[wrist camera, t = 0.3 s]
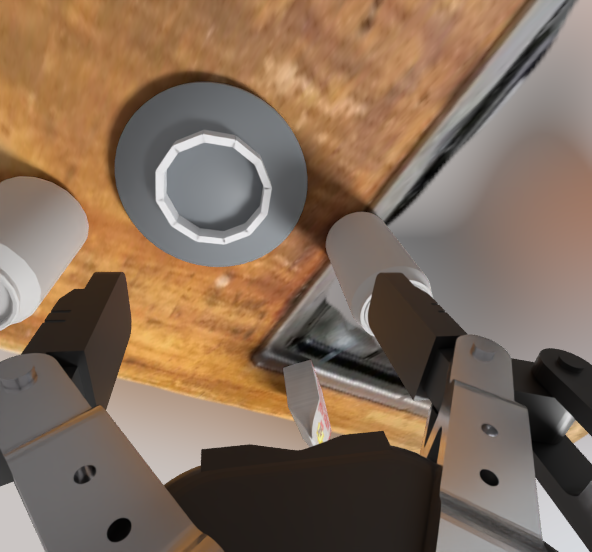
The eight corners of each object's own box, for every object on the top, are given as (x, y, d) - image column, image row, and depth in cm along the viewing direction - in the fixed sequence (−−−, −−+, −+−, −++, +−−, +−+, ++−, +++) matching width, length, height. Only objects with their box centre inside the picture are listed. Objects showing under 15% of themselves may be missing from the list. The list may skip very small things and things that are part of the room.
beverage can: (325, 268, 39) (355, 349, 29) (322, 212, 35) (356, 283, 25) (383, 259, 39) (433, 337, 29) (387, 204, 35) (445, 270, 25)
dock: (186, 28, 26) (181, 28, 24) (341, 170, 33) (348, 179, 31) (83, 198, 31) (72, 209, 29) (236, 287, 38) (235, 301, 36)
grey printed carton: (296, 398, 50) (308, 471, 42) (283, 367, 46) (292, 440, 38) (322, 391, 50) (339, 462, 42) (310, 359, 46) (326, 430, 38)
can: (50, 157, 29) (-47, 222, 19) (110, 233, 33) (56, 318, 23) (-29, 194, 30) (-160, 274, 20) (40, 264, 34) (-41, 359, 24)
